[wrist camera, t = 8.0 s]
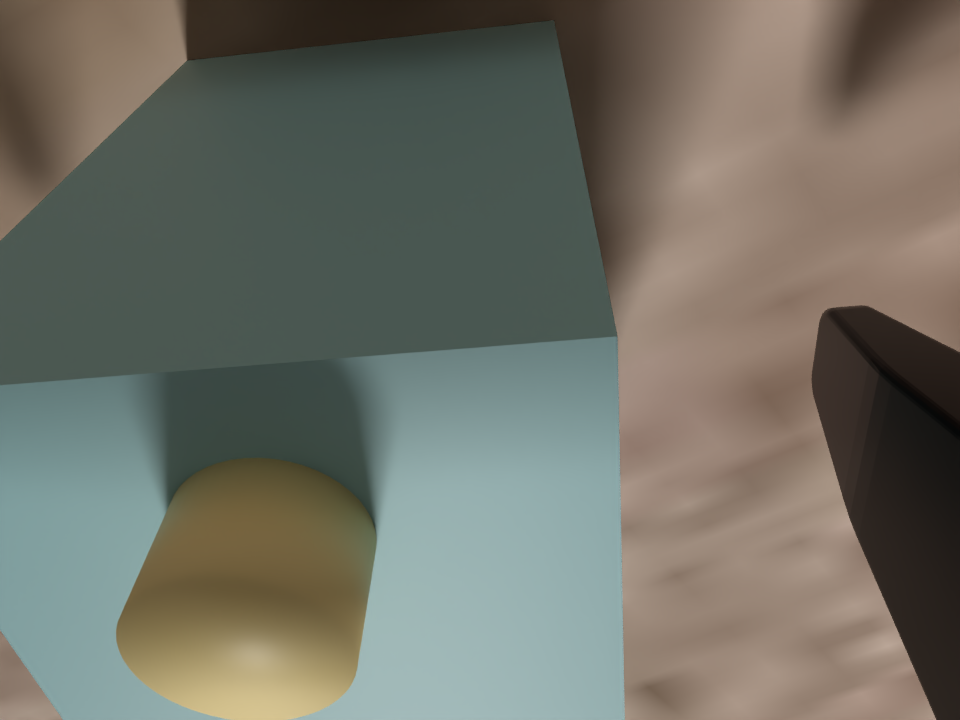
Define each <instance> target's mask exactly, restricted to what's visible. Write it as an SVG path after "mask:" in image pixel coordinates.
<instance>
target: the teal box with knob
mask: <svg viewBox="0 0 960 720" xmlns="http://www.w3.org/2000/svg"><path fill="white" fill-rule="evenodd" d="M0 630H1V632H2V633H3V635H4V636H5V638H6V639H7V640H8V642H9V643H10V645H11V646H12V648H13V649H14V650H15V652H16V653H17V655H18V656H19V658H20V659H21V660H22V662H23V663H24V665H25V666H26V668H27V669H28V670H29V672H30V673H31V675H32V676H33V678H34V679H35V680H36V682H37V683H38V685H39V686H40V687H41V689H42V690H43V692H44V693H45V695H46V696H47V697H48V699H49V700H50V702H51V703H52V705H53V706H54V707H55V709H56V710H57V712H58V713H59V715H60V716H61V717H62V719H63V720H625V712H624V658H623V605H622V552H621V499H620V446H619V393H618V340H617V332H616V327H615V322H614V317H613V312H612V307H611V302H610V297H609V292H608V287H607V282H606V277H605V272H604V267H603V262H602V257H601V252H600V247H599V242H598V237H597V232H596V227H595V222H594V217H593V212H592V207H591V202H590V197H589V192H588V187H587V182H586V177H585V172H584V168H583V163H582V158H581V153H580V148H579V143H578V138H577V133H576V128H575V123H574V118H573V113H572V108H571V103H570V98H569V93H568V88H567V83H566V78H565V73H564V68H563V63H562V58H561V53H560V48H559V43H558V38H557V33H556V28H555V23H554V20H552V21H543V22H534V23H525V24H515V25H506V26H497V27H488V28H479V29H470V30H461V31H452V32H443V33H434V34H425V35H416V36H406V37H397V38H388V39H379V40H370V41H361V42H352V43H343V44H334V45H325V46H316V47H306V48H297V49H288V50H279V51H270V52H261V53H252V54H243V55H234V56H225V57H216V58H206V59H197V60H188V61H186V62H185V63H184V64H183V65H182V66H181V67H180V68H179V69H178V70H177V71H176V72H175V73H174V74H173V75H172V76H171V77H170V78H169V79H168V80H167V81H166V82H164V83H163V84H162V85H161V86H160V87H159V88H158V89H157V90H156V91H155V92H154V93H153V94H152V95H151V96H150V97H149V98H148V99H147V100H146V101H145V102H144V103H143V104H142V105H141V106H140V107H139V108H138V109H137V110H135V111H134V112H133V113H132V114H131V115H130V116H129V117H128V118H127V119H126V120H125V121H124V122H123V123H122V124H121V125H120V126H119V127H118V128H117V129H116V130H115V131H114V132H113V133H112V134H111V135H110V136H109V137H108V138H106V139H105V140H104V141H103V142H102V143H101V144H100V145H99V146H98V147H97V148H96V149H95V150H94V151H93V152H92V153H91V154H90V155H89V156H88V157H87V158H86V159H85V160H84V161H83V162H82V163H81V164H80V165H79V166H77V167H76V168H75V169H74V170H73V171H72V172H71V173H70V174H69V175H68V176H67V177H66V178H65V179H64V180H63V181H62V182H61V183H60V184H59V185H58V186H57V187H56V188H55V189H54V190H53V191H52V192H51V193H50V194H48V195H47V196H46V197H45V198H44V199H43V200H42V201H41V202H40V203H39V204H38V205H37V206H36V207H35V208H34V209H33V210H32V211H31V212H30V213H29V214H28V215H27V216H26V217H25V218H24V219H23V220H22V221H21V222H19V223H18V224H17V225H16V226H15V227H14V228H13V229H12V230H11V231H10V232H9V233H8V234H7V235H6V236H5V237H4V238H3V239H2V240H1V241H0Z"/></svg>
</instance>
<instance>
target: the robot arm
mask: <svg viewBox="0 0 960 720" xmlns="http://www.w3.org/2000/svg"><path fill="white" fill-rule="evenodd" d="M812 390H813V395H814V399H815V403H816V406H817V410H818V413H819V417H820V420H821V423H822V427H823V430H824V434H825V437H826V441H827V444H828V448H829V451H830V454H831V458H832V461H833V465H834V468H835V472H836V475H837V479H838V482H839V486H840V489H841V492H842V496H843V499H844V502H845V505H846V509H847V512H848V515H849V518H850V521H851V523H852V526H853V528H854V531H855V533H856V536H857V538H858V540H859V543H860V545H861V547H862V550H863V552H864V554H865V557H866V559H867V561H868V563H869V566H870V568H871V570H872V573H873V575H874V577H875V580H876V582H877V584H878V586H879V589H880V591H881V593H882V596H883V598H884V600H885V603H886V605H887V607H888V609H889V612H890V614H891V616H892V619H893V621H894V623H895V626H896V628H897V630H898V632H899V635H900V637H901V639H902V642H903V644H904V646H905V649H906V651H907V653H908V655H909V658H910V660H911V662H912V665H913V667H914V669H915V672H916V674H917V676H918V678H919V681H920V683H921V685H922V688H923V690H924V692H925V695H926V697H927V699H928V701H929V704H930V706H931V708H932V711H933V713H934V715H935V718H936V720H960V352H958V351H956V350H954V349H952V348H950V347H948V346H946V345H944V344H942V343H940V342H938V341H936V340H934V339H932V338H930V337H928V336H926V335H924V334H922V333H920V332H918V331H916V330H914V329H912V328H910V327H908V326H906V325H904V324H902V323H900V322H898V321H897V320H895V319H893V318H891V317H889V316H887V315H885V314H883V313H881V312H879V311H877V310H875V309H873V308H871V307H868V306H862V305H860V306H848V307H836V308H829V309H827V310H826V311H825V312H824V313H823V314H822V316H821V319H820V322H819V328H818V335H817V342H816V349H815V356H814V362H813V369H812Z"/></svg>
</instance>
